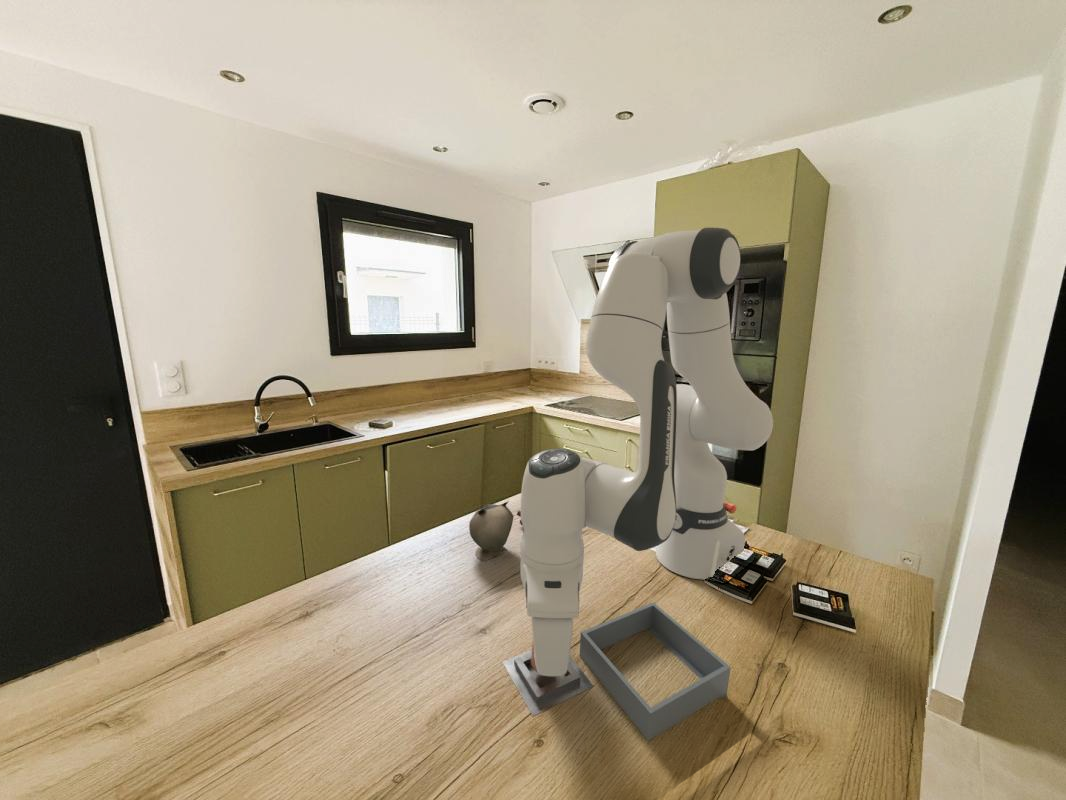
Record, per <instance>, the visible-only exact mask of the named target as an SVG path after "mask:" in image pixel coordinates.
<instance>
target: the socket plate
mask: <svg viewBox="0 0 1066 800" xmlns="http://www.w3.org/2000/svg"><path fill="white" fill-rule="evenodd" d="M531 654H532V649H530V650H528V651H525V652H523V653H520V654H518V655H516V656H515V655H514V656H513V657H511V658H508V659H505V660H503V661H501V663H502V665H503V666H504V668H505V670H506V671H507V673H508V675H509V676H510V679H511V681H512V682H513V684H514V686H515V688H516V689H517V691H518V693H519V694H520V696H521V698H522V700H523V701H524V703H525V705H526V707H527V709H528V710H529V712H530V714H531V716H532V717H535V716H537V715H539V714H541V713H543V712H546V711H547V710H549V709H552V708H553V707H555V706H558V705H559V704H562V703H563V702H566V701H568V700H569V699H572V698H574V697H576V696H577V695H580V694H582V693H583V692H586V691H588V690H590V689H591V688H593V687H594V685H593V683H592V682H591V681H590V680H589V678H588V677H587V675H586V674H585V673H584V672H583V670H582V669H581V667H580V666H579V665H578V664H577V663H576V662H575V660H574V659H573V658H572V656H571V655H570V657H569V664H568V669H567V672H566V674H565V675H564V676H553V677H551V676H542V675H539V674H538V672H536V671H535V670H534V669H533V668H532V666H531Z"/></svg>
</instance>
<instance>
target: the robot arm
mask: <svg viewBox="0 0 1066 800" xmlns="http://www.w3.org/2000/svg"><path fill="white" fill-rule="evenodd" d="M741 260H742V259H741V248H740V245H739V242H738V239H737V238H736V237H735V235H734V234H733V233H732V232H731V231H730V230H729V229H728V228H722V227H721V228H720V227H703V228H701V229H694V230H693V229H692V230H689V229H688V230H680V231H672V232H666V233H664V234H662V235H655V236H653V237H649V238H645V239H642V240H639V241H637V240H632V241H629V242H627V243H625V244H623V245H621V246H619V247H618V248H616V249H615V250H614V252H613V254H612V255H611V257H610V258H609V260H608V261H609V262H608V264H607V269H606V271H605V274H604V276H603V279H602V282H601V284H600V287H599V290H598V293H597V295H596V299H595V300H594V301H595V302H594V305H593V310H592V312H591V316H590V320H589V324H588V330H587V334H586V341H585V342H586V343H585V352H586V355H587V359H588V360H589V363H590V365H591V366H592V368H593V369H594V370H595V372H597V374H598V375H600V376H601V377H602V378H603V379H604V380H606V381H607V382H609V383H610V384H612V385H614V386H615V387H617V388H618V389H620V390H621V391H623V392H625V393H626V394H627V395H628V396H629V397H630V398H631V399H632V400H633V401H634V402H635V405H636V406H637V408H638V411H639V417H640V418H639V419H640V422H639V441H638V460H637V470H636V471H632V470H631V471H630V470H628V469H624V468H621V467H617V466H613V465H610V464H608V463H605V462H603V461H598V460H595V459H591V458H587V457H581V456H580V455H579V454H578V453H577V452H575V451H572V449H566V448H551V449H550V448H549V449H546V450H542V451H540V452H538V453H536V454H534V455H533V456H531V457H530V458H529V460H528V461H527V463H526V467H525V470H524V473H523V477H522V483H521V491H520V492H521V493H520V511H521V517H520V520H521V522H522V525H521V526H522V529H523V533H522V537H521V540H520V566H519V567H520V572H519V573H520V579H521V582H522V586H523V589H524V592H525V600H526V601H525V602H526V603H525V604H526V605H525V609H526V614H527V616H528V617H530V618H531V630H532V643H533V642H534V653H535V662H536V668H537V672H538V674H539V675H542V676H551V677H553V676H564V675H565V674H566V672H567V669H568V664H569V657H570V656H571V647H572V640H573V632H574V619H576V618H578V617H579V614H580V612H579V611H580V590H581V587H582V586H581V585H582V582H583V578H584V557H585V554H584V552H585V543H584V540H583V533H582V532H583V529H585V528H586V527H588V528H590V529H592V530H595V531H597V532H600V533H602V534H605V535H607V536H609V537H612V538H614V540H616V541H618V542H620V543H621V544H624V545H626V546H628V547H629V548H631V549H633V550H635V551H637V552H641V551H647V550H650V549H653V548H655V547H657V548H656V551H655V556H656V558H657V560H658V561H659V563H660V564H661V565H662V566H663V567H664V568H666V569H668V570H669V571H671V572H673V573H675V574H677V575H680V576H683V577H685V578H690V579H695V580H704V581H705V579H706V578H708V577H713V575H714V574H715V571H716V570H717V569H719V567H721V566H723V565H724V564H726V563H727V562H729V561H730V560H731V559H732V558H734V556H737V555H738V554H740V553H741V552H743V551H744V546H745V545H746V537H745V534H744V532H743V530H741V528H739V526H737V525H736V524H735V523H734V522H732V520H730V519H729V518H728V515H727V512H728V513H730V514H735V513H736V511H737V505H736V504H734V503H731V502H729V501H726V502H725V496H726V489H727V488H726V487H727V480H728V474H727V470H726V467H725V466H724V464H723V463H722V462H721V461H720V460H719V459H718V458H717V457H716V456H715V455H714V454H713V452H712V451H711V449H710V446H709V444H711V445H713V446H717V447H721V448H725V449H728V450H737V451H739V450H740V451H755V450H757V449H759V448H760V447H763V445H764V444H765V443H766V442H767V441H768V440H769V438H770V436H771V434H772V431H773V428H774V418H773V413H772V411H771V408H770V407H769V405H768V404H767V403H766V402H764V401H763V400H761V399H760V398H759V397H758V396H757V395H756V394H755V393H754V392H753V391H752V390H751V389H750V388H749V386H747V384H746V382H745V381H744V379H743V377H742V376H741V374H740V372H739V369H738V368H737V365H736V362H735V359H734V353H733V344H732V336H731V335H732V334H731V319H730V307H729V301H728V300H729V299H728V295H727V292H728V291H729V290H730V289H731V288H732V286H734V284H735V283H736V282H737V279H738V276H739V274H740V269H741ZM665 323H667V324H666V325H667V334H668V335H667V336H668V343H669V353H670V361H671V365H670V364H669V363H667V362H666V361H665V358H664V355H663V349H662V348H663V347H662V337H663V332H664V327H665ZM674 370H675V371H676V373H677V374H679V376H681V377H682V378H683V379H684V380H686V381H687V382H688V384H686V383H685V384H683V383H677V380H676V379H677V378H676V375H675V371H674Z"/></svg>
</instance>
